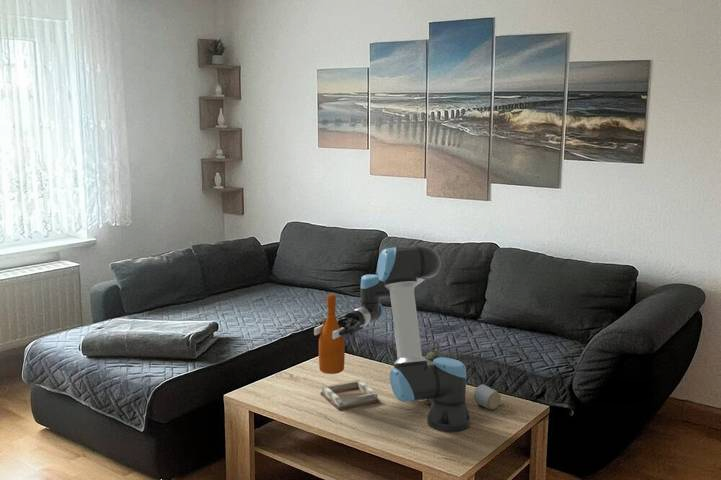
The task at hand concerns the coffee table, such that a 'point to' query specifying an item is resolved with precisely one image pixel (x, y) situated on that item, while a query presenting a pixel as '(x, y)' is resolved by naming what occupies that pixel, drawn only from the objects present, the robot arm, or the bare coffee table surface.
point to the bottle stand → (349, 394)
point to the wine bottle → (331, 342)
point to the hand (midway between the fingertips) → (324, 333)
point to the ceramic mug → (487, 397)
